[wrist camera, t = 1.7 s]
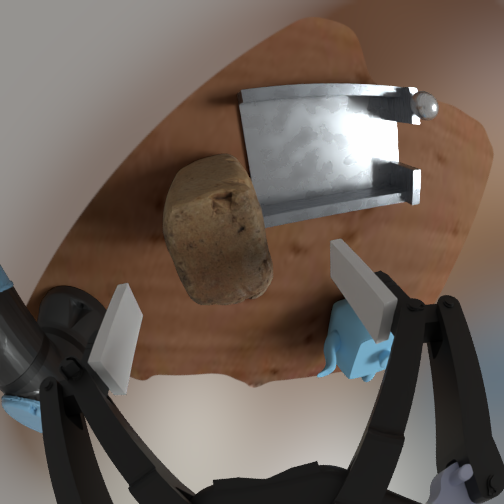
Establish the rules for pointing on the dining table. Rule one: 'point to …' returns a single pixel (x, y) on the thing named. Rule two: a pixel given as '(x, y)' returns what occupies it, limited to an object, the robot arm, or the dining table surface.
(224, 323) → the dining table surface
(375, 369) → the teapot
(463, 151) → the dining table surface
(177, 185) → the brown blocky piece
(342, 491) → the robot arm
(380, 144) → the dock
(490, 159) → the dining table surface
